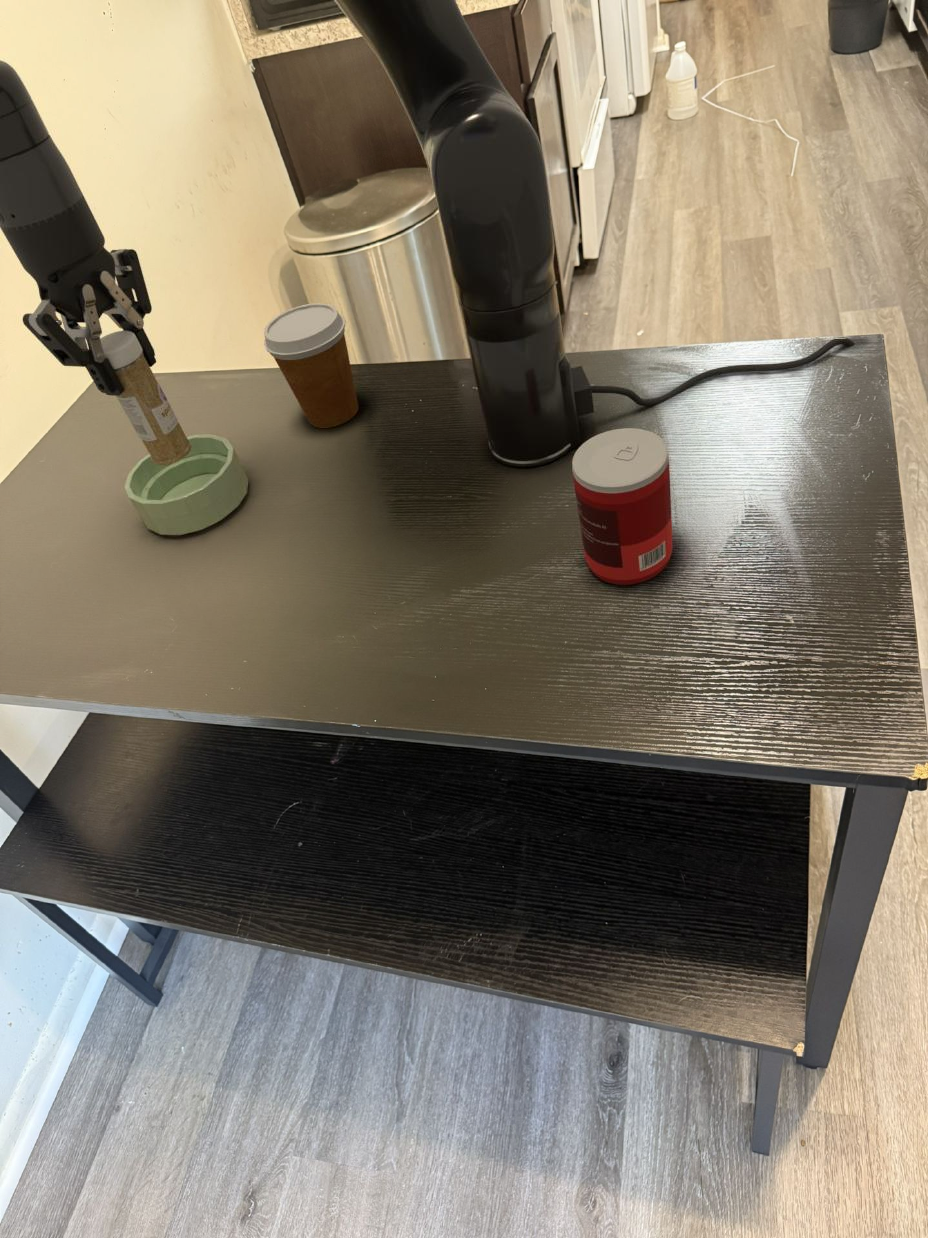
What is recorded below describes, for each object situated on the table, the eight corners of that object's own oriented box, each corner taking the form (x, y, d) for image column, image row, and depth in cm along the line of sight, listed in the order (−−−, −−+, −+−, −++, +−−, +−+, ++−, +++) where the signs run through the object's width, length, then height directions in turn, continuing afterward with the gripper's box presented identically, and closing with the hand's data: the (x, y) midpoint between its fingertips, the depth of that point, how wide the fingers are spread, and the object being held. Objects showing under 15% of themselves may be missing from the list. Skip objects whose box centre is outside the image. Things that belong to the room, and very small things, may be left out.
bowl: (253, 460, 102) (236, 424, 98) (246, 523, 93) (228, 486, 89) (154, 484, 102) (134, 449, 99) (138, 550, 94) (116, 514, 90)
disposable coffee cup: (287, 411, 108) (251, 322, 99) (357, 382, 109) (328, 292, 101) (307, 446, 101) (270, 353, 93) (382, 415, 103) (352, 321, 94)
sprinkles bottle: (198, 452, 92) (139, 337, 83) (159, 473, 91) (95, 358, 81) (184, 436, 95) (126, 323, 86) (146, 456, 94) (83, 343, 84)
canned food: (680, 529, 78) (676, 427, 71) (664, 591, 73) (658, 489, 66) (596, 524, 81) (584, 425, 73) (576, 584, 76) (560, 484, 68)
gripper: (11, 240, 69) (115, 422, 81) (121, 167, 77) (201, 341, 89) (-51, 243, 72) (58, 418, 84) (62, 173, 80) (146, 340, 92)
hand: (131, 377), depth 86 cm, fingers closed on sprinkles bottle, 4 cm apart
